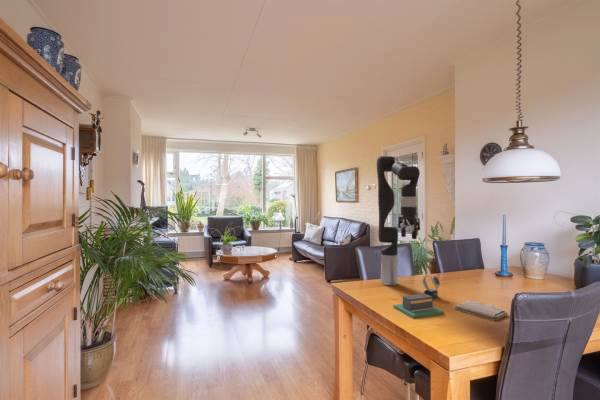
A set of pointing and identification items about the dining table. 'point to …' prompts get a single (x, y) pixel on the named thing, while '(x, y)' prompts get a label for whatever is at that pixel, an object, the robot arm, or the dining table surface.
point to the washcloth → (481, 310)
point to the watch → (430, 291)
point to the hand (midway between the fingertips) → (408, 237)
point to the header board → (419, 311)
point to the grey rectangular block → (417, 302)
